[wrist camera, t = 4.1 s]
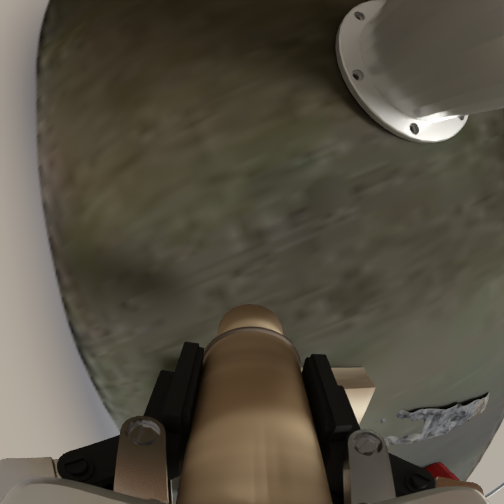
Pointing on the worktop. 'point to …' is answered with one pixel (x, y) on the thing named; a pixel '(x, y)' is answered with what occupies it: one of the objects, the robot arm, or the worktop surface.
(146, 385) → the worktop surface
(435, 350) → the worktop surface
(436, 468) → the plastic cup
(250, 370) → the peg
